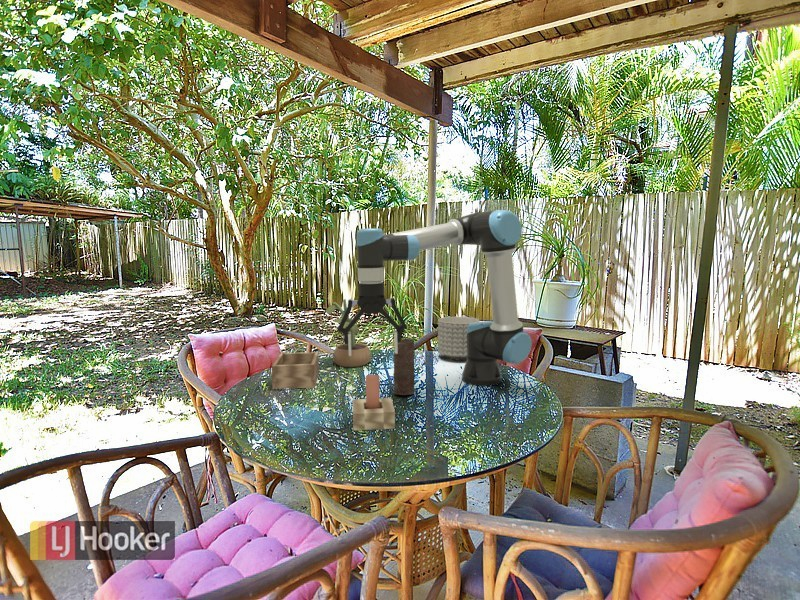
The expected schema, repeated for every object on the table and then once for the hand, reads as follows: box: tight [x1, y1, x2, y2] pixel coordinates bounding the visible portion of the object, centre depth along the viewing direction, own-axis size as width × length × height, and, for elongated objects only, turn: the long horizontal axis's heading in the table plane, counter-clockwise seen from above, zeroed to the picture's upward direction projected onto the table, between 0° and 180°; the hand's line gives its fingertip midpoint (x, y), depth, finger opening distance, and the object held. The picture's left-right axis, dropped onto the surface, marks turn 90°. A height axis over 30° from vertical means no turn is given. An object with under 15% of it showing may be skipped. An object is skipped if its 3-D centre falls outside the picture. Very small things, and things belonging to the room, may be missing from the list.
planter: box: [437, 316, 480, 361], centre depth 208 cm, size 19×19×18 cm
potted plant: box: [325, 298, 372, 368], centre depth 197 cm, size 22×18×30 cm
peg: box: [365, 374, 381, 409], centre depth 134 cm, size 4×4×14 cm
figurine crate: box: [271, 351, 320, 389], centre depth 175 cm, size 15×19×9 cm
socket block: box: [352, 397, 396, 431], centre depth 134 cm, size 12×12×5 cm
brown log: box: [393, 338, 415, 396], centre depth 157 cm, size 8×7×20 cm
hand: (373, 353), depth 132 cm, fingers open, 13 cm apart
